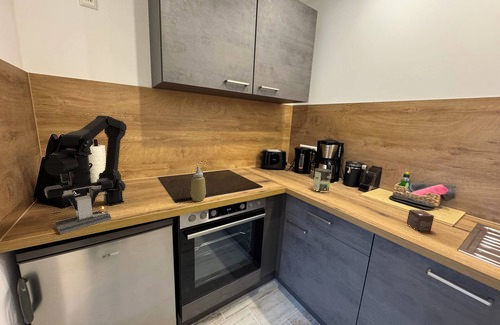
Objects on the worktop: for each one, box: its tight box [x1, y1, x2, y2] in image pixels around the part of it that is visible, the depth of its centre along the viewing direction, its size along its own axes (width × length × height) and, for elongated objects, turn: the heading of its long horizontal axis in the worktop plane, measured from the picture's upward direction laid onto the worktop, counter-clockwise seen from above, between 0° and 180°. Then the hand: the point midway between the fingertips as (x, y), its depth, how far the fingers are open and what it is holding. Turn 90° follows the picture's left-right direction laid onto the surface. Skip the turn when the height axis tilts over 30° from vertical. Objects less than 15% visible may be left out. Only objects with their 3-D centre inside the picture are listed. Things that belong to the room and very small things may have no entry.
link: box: [75, 195, 109, 222], centre depth 77 cm, size 9×5×8 cm, turn 143°
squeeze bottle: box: [189, 165, 207, 202], centre depth 102 cm, size 8×8×18 cm
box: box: [406, 209, 435, 232], centre depth 85 cm, size 6×6×7 cm
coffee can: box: [312, 167, 333, 192], centre depth 130 cm, size 10×10×14 cm
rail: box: [54, 205, 112, 235], centre depth 75 cm, size 15×9×4 cm, turn 143°
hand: (83, 208), depth 75 cm, fingers closed on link, 4 cm apart
